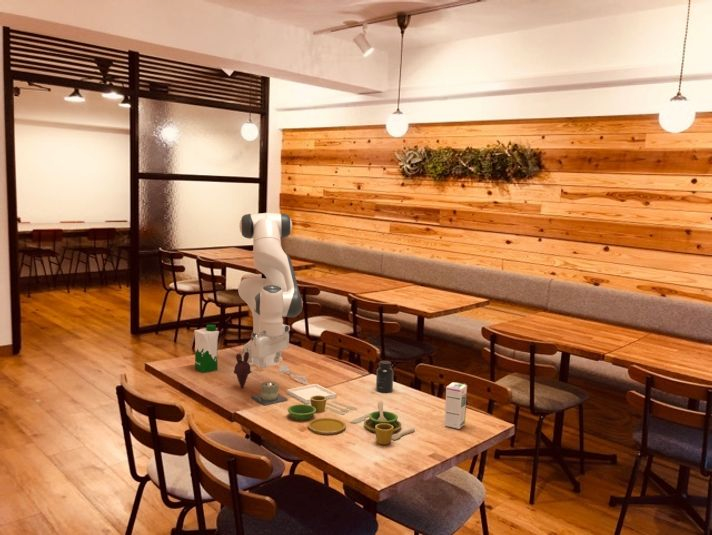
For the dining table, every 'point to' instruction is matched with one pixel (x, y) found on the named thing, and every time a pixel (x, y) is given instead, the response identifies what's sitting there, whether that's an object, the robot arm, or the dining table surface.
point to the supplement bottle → (384, 377)
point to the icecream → (242, 368)
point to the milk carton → (206, 349)
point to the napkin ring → (269, 391)
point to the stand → (268, 402)
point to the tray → (310, 393)
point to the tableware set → (378, 421)
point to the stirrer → (286, 370)
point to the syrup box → (455, 405)
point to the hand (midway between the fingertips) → (269, 365)
